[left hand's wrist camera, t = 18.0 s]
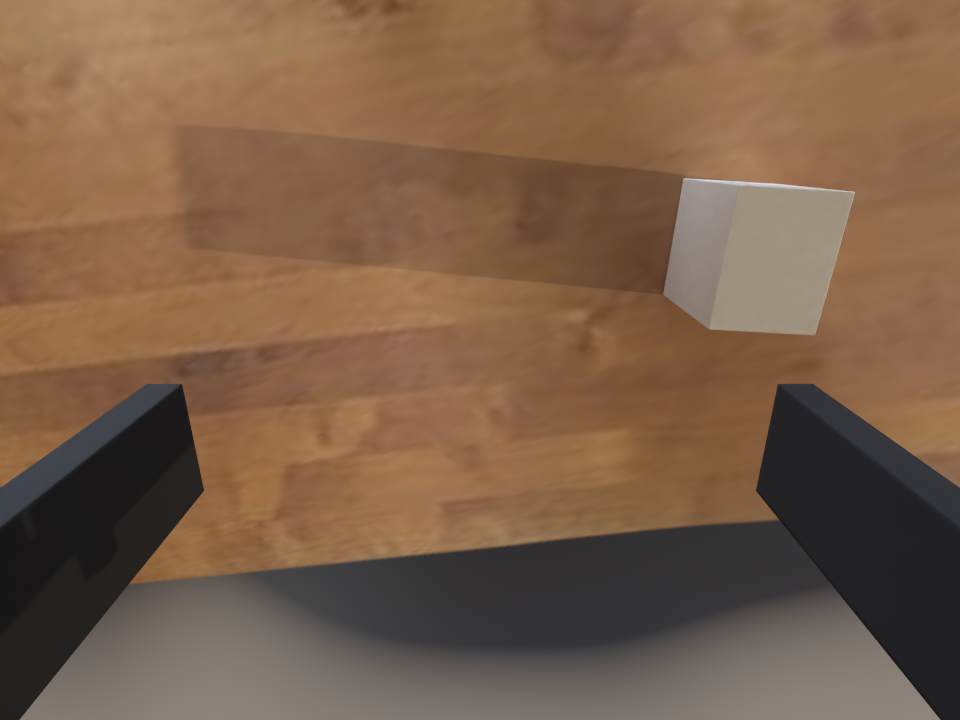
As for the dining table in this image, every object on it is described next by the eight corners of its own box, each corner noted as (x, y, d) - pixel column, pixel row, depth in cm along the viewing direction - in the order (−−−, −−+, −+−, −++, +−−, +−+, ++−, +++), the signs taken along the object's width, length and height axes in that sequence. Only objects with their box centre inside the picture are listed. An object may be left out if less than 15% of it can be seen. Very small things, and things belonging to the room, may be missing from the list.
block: (683, 178, 37) (738, 184, 29) (775, 183, 38) (855, 191, 30) (662, 294, 40) (708, 329, 32) (748, 299, 40) (815, 335, 32)
